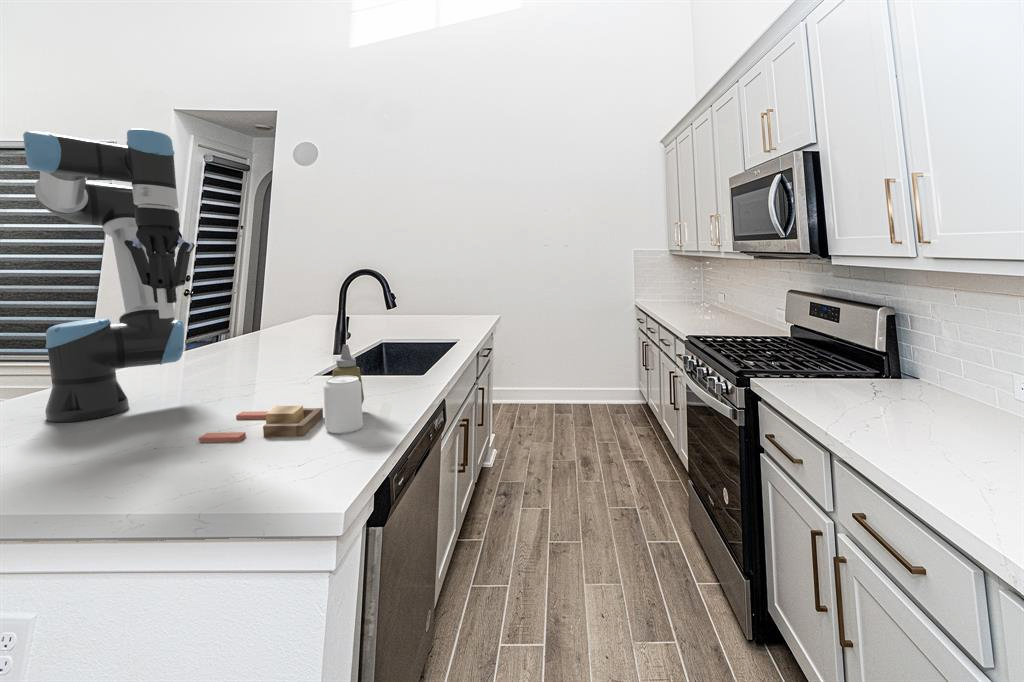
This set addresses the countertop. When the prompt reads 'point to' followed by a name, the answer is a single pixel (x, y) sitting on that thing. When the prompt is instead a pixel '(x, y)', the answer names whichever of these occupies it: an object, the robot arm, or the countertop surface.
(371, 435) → the countertop surface
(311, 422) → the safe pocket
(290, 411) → the oak block
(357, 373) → the squeeze bottle
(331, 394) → the beverage can
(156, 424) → the countertop surface
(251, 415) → the mats
